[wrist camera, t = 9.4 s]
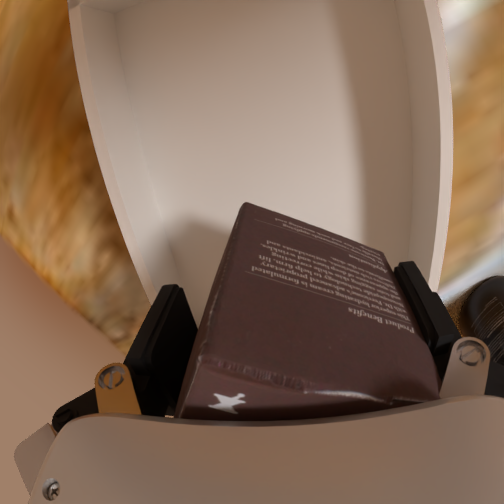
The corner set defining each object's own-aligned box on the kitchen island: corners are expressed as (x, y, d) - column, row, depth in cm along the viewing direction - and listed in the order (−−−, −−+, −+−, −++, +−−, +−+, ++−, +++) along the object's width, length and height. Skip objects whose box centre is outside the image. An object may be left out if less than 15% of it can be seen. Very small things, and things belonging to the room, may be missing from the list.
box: (202, 312, 14) (157, 459, 8) (243, 194, 11) (190, 356, 5) (322, 348, 15) (330, 489, 8) (388, 250, 12) (457, 409, 5)
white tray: (122, 15, 12) (67, -1, 7) (381, -26, 10) (417, -61, 5) (199, 311, 22) (180, 367, 17) (399, 293, 19) (422, 349, 15)
